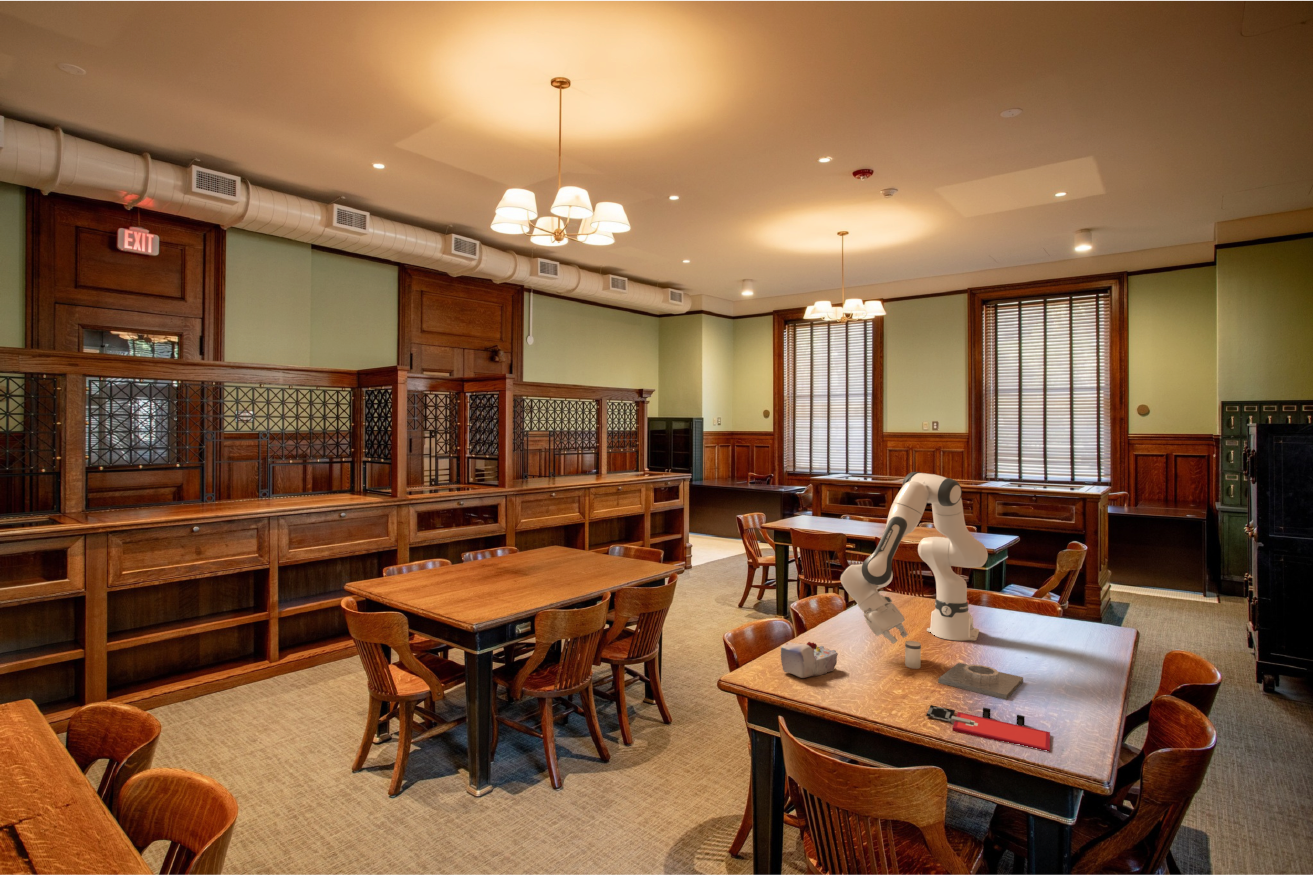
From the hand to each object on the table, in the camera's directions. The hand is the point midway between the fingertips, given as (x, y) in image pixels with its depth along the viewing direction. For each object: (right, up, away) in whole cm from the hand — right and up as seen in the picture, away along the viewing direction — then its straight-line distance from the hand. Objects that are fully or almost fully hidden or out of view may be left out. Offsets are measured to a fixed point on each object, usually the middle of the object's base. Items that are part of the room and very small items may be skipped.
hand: (900, 639), depth 230 cm
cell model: (-34, -8, -9) cm, 36 cm away
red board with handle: (+5, -9, -50) cm, 51 cm away
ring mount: (+20, -9, -17) cm, 28 cm away
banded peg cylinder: (+3, -8, -3) cm, 9 cm away
